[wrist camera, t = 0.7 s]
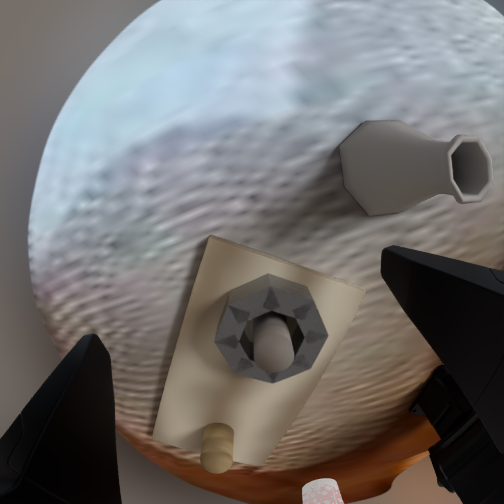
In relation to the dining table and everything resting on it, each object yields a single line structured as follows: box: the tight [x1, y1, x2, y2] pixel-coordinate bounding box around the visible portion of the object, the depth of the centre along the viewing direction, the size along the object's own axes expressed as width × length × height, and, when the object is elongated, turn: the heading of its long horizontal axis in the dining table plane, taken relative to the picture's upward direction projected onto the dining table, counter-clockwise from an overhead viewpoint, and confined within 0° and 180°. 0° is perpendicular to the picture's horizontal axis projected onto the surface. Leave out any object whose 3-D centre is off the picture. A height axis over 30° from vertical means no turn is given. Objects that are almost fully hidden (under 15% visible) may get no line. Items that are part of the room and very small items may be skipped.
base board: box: [152, 235, 366, 474], centre depth 21 cm, size 12×22×6 cm, turn 160°
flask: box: [339, 120, 493, 216], centre depth 15 cm, size 7×7×10 cm
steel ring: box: [214, 273, 329, 384], centre depth 20 cm, size 7×7×2 cm
